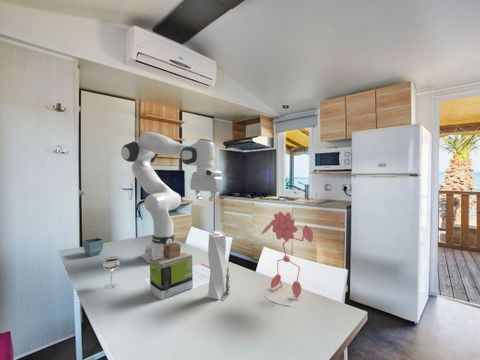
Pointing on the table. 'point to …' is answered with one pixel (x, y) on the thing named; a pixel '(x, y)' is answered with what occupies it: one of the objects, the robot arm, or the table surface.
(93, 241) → the flower pot
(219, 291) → the skyscraper
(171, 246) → the walnut cube
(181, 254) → the tea box
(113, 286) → the wineglass
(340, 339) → the table surface
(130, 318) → the table surface
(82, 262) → the table surface
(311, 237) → the figurine
